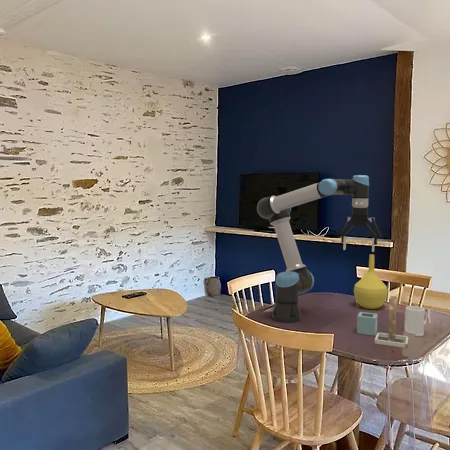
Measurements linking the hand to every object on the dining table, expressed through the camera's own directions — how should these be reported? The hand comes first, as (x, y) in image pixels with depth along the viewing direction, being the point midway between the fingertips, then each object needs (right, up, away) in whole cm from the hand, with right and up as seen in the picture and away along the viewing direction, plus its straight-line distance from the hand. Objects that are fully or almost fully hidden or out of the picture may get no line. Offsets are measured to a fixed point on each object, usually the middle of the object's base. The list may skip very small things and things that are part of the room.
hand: (358, 250), depth 225 cm
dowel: (+7, -38, -25) cm, 46 cm away
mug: (+24, -38, -10) cm, 46 cm away
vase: (+17, -34, +36) cm, 52 cm away
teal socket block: (0, -38, -12) cm, 40 cm away
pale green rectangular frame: (+7, -39, -25) cm, 47 cm away
